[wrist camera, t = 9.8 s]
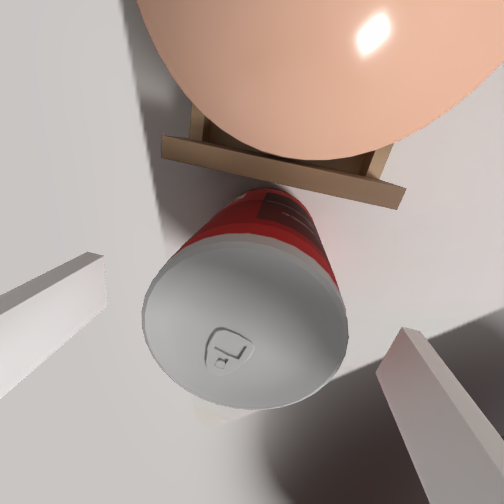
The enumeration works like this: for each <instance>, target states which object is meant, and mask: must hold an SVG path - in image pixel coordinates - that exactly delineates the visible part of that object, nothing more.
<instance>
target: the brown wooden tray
mask: <svg viewBox="0 0 504 504" xmlns="http://www.w3.org/2000/svg"><path fill="white" fill-rule="evenodd" d="M393 144H394V143H392V144H389V145H387V146H384V147H382V148H379V149H377V150H374V151H370V152H367V153H363V154H359V155H355V156H352V157H345V158H338V159H331V160H301V159H294V158H287V157H281V156H278V155H274V154H271V153H267V152H264V151H261V150H258V149H256V148H254V147H252V146H250V145H247V144H245V143H243V142H241V141H239V140H238V139H236V138H234V137H233V136H231V135H230V134H228V133H226V132H225V131H223V130H222V129H221V128H219V127H218V126H217V125H216V124H215V123H213V122H212V121H211V120H210V119H209V118H207V117H206V116H205V115H204V114H203V113H202V112H201V111H200V110H199V109H198V108H197V107H196V106H195V105H194V104H193V102H192V108H191V121H190V135H189V138H180V137H171V136H162V145H161V158H164V159H169V160H173V161H178V162H182V163H187V164H191V165H196V166H200V167H205V168H209V169H214V170H219V171H223V172H228V173H232V174H237V175H241V176H246V177H250V178H255V179H259V180H264V181H268V182H273V183H277V184H282V185H286V186H291V187H295V188H300V189H304V190H309V191H314V192H318V193H323V194H327V195H332V196H336V197H341V198H345V199H350V200H354V201H359V202H363V203H368V204H372V205H377V206H381V207H386V208H390V209H395V210H397V208H398V206H399V204H400V202H401V200H402V197H403V195H404V193H405V191H406V188H403V187H400V186H397V185H394V184H391V183H388V182H385V181H382V180H379V178H380V176H381V173H382V171H383V169H384V166H385V164H386V161H387V159H388V156H389V154H390V151H391V149H392V146H393Z"/></svg>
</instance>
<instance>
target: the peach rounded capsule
mask: <svg viewBox="0 0 504 504" xmlns="http://www.w3.org/2000/svg"><path fill="white" fill-rule="evenodd" d="M136 1H137V4H138V6H139V9H140V12H141V15H142V18H143V21H144V23H145V26H146V28H147V30H148V32H149V34H150V37H151V39H152V41H153V43H154V46H155V48H156V50H157V52H158V53H159V55H160V57H161V59H162V60H163V62H164V64H165V65H166V67H167V69H168V71H169V72H170V74H171V76H172V77H173V78H174V80H175V81H176V82H177V84H178V85H179V86H180V88H181V89H182V91H183V92H184V93H185V95H186V96H187V97H188V98H189V99H190V100H191V101H192V102H193V104H194V105H195V106H196V107H197V108H198V109H199V110H200V111H201V112H202V113H203V114H204V115H205V116H206V117H207V118H209V119H210V120H211V121H212V122H213V123H215V124H216V125H217V126H218V127H219V128H221V129H222V130H223V131H225V132H226V133H228V134H230V135H231V136H233V137H234V138H236V139H238V140H239V141H241V142H243V143H245V144H247V145H250V146H252V147H254V148H256V149H258V150H261V151H264V152H267V153H271V154H274V155H278V156H281V157H287V158H294V159H301V160H331V159H338V158H345V157H352V156H355V155H359V154H363V153H367V152H370V151H374V150H377V149H379V148H382V147H384V146H387V145H389V144H392V143H394V142H397V141H399V140H401V139H403V138H405V137H407V136H409V135H411V134H412V133H414V132H416V131H418V130H420V129H422V128H424V127H425V126H427V125H428V124H430V123H431V122H433V121H434V120H436V119H437V118H439V117H440V116H442V115H443V114H445V113H446V112H448V111H449V110H451V109H452V108H453V107H454V106H456V105H457V104H458V103H459V102H460V101H462V100H463V99H464V98H465V97H466V96H468V95H469V94H470V93H471V92H472V91H474V90H475V89H476V88H477V87H478V86H479V85H480V84H481V83H482V82H483V81H484V80H485V79H486V78H487V77H488V76H489V75H490V74H491V73H492V72H493V71H494V70H495V69H496V68H497V67H498V66H499V65H500V64H501V63H502V62H503V61H504V0H136Z"/></svg>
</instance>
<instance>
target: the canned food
mask: <svg viewBox="0 0 504 504" xmlns="http://www.w3.org/2000/svg"><path fill="white" fill-rule="evenodd" d="M142 329H143V333H144V336H145V341H146V343H147V345H148V347H149V350H150V352H151V354H152V356H153V358H154V359H155V360H156V362H157V363H158V365H159V366H160V367H161V368H162V370H163V371H164V372H165V373H166V374H167V375H168V376H169V377H170V378H171V379H172V380H173V381H174V382H176V383H177V384H179V385H180V386H181V387H183V388H184V389H185V390H187V391H188V392H190V393H192V394H194V395H196V396H198V397H200V398H201V399H204V400H207V401H209V402H212V403H215V404H217V405H221V406H226V407H230V408H235V409H245V410H267V409H273V408H279V407H285V406H288V405H290V404H293V403H296V402H299V401H301V400H303V399H305V398H307V397H309V396H311V395H313V394H314V393H316V392H317V391H318V390H320V389H321V388H322V387H323V386H324V385H326V384H327V383H328V382H329V381H330V379H331V378H332V377H333V376H334V374H335V373H336V372H337V371H338V369H339V367H340V365H341V363H342V361H343V359H344V357H345V354H346V349H347V344H348V339H349V335H348V321H347V317H346V309H345V306H344V303H343V300H342V297H341V294H340V291H339V288H338V285H337V282H336V279H335V276H334V273H333V271H332V268H331V266H330V263H329V261H328V258H327V255H326V253H325V250H324V248H323V245H322V243H321V240H320V238H319V235H318V232H317V230H316V227H315V225H314V222H313V220H312V217H311V216H310V214H309V212H308V211H307V209H306V208H305V207H304V206H303V205H302V203H301V202H300V201H299V200H297V199H296V198H294V197H293V196H291V195H290V194H287V193H285V192H282V191H280V190H274V189H256V190H252V191H248V192H246V193H243V194H241V195H239V196H237V197H236V198H235V199H233V200H232V201H231V202H229V203H228V204H227V205H226V206H225V207H224V208H223V209H222V210H221V211H220V212H219V213H218V214H216V215H215V216H214V217H213V218H212V219H211V220H210V221H209V222H208V223H207V224H206V225H204V226H203V227H202V228H201V229H200V230H199V231H198V232H197V233H196V234H195V235H194V236H193V237H191V238H190V239H189V240H188V241H187V242H186V243H185V244H184V245H183V246H182V247H181V248H180V249H179V250H178V251H177V252H176V253H175V254H174V255H173V256H172V257H171V258H170V259H169V260H168V261H167V263H166V264H165V265H164V266H163V268H162V269H161V270H160V271H159V273H158V274H157V276H156V277H155V278H154V279H153V281H152V283H151V285H150V287H149V289H148V291H147V293H146V295H145V299H144V303H143V308H142Z"/></svg>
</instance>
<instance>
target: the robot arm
mask: <svg viewBox="0 0 504 504" xmlns="http://www.w3.org/2000/svg"><path fill="white" fill-rule="evenodd" d="M106 307H107V296H106V280H105V264H104V256H102V255H98V254H94V253H90V252H86V253H84V254H82V255H80V256H78V257H76V258H74V259H73V260H70V261H68V262H66V263H64V264H63V265H60V266H58V267H56V268H54V269H52V270H50V271H48V272H46V273H45V274H43V275H40V276H38V277H37V278H35V279H32V280H31V281H29V282H26V283H25V284H23V285H21V286H19V287H17V288H15V289H13V290H11V291H9V292H7V293H5V294H3V295H1V296H0V399H1V398H2V397H3V396H4V395H5V394H6V393H8V392H9V391H10V390H11V389H12V388H13V387H15V386H16V385H17V384H18V383H19V382H20V381H22V380H23V379H24V378H25V377H26V376H27V375H28V374H30V373H31V372H32V371H33V370H34V369H35V368H37V367H38V366H39V365H40V364H41V363H42V362H43V361H45V360H46V359H47V358H48V357H49V356H50V355H51V354H53V353H54V352H55V351H56V350H57V349H58V348H60V347H61V346H62V345H63V344H64V343H65V342H67V341H68V340H69V339H70V338H71V337H72V336H73V335H75V334H76V333H77V332H78V331H79V330H80V329H81V328H83V327H84V326H85V325H86V324H87V323H89V322H90V321H91V320H92V319H93V318H94V317H95V316H97V315H98V314H99V313H100V312H101V311H102V310H103V309H104V308H106ZM376 375H377V378H378V380H379V382H380V384H381V387H382V389H383V392H384V394H385V396H386V399H387V401H388V404H389V406H390V409H391V411H392V413H393V416H394V418H395V421H396V423H397V425H398V428H399V430H400V433H401V435H402V437H403V440H404V442H405V445H406V447H407V449H408V452H409V454H410V457H411V459H412V461H413V464H414V466H415V469H416V471H417V473H418V476H419V478H420V481H421V483H422V485H423V488H424V490H425V493H426V495H427V497H428V500H429V502H430V504H504V436H500V435H499V434H498V432H497V431H496V430H495V429H494V427H493V426H492V425H491V423H490V422H489V421H488V419H487V418H486V417H485V416H484V414H483V413H482V412H481V411H480V409H479V408H478V406H477V405H476V404H475V403H474V401H473V400H472V398H471V397H470V396H469V395H468V393H467V392H466V391H465V389H464V388H463V387H462V385H461V384H460V383H459V381H458V380H457V379H456V378H455V376H454V375H453V374H452V372H451V371H450V370H449V368H448V367H447V366H446V365H445V363H444V362H443V361H442V359H441V358H440V357H439V355H438V354H437V353H436V351H435V350H434V349H433V348H432V346H431V345H430V344H429V342H428V341H427V340H426V338H425V337H424V336H423V334H422V333H421V332H420V331H417V330H412V329H408V328H404V327H402V328H401V329H400V331H399V333H398V335H397V336H396V338H395V340H394V341H393V343H392V345H391V347H390V348H389V350H388V352H387V354H386V355H385V357H384V359H383V360H382V362H381V364H380V366H379V367H378V369H377V371H376Z"/></svg>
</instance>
